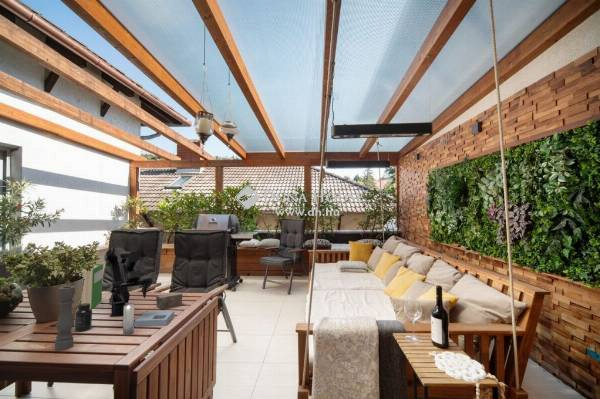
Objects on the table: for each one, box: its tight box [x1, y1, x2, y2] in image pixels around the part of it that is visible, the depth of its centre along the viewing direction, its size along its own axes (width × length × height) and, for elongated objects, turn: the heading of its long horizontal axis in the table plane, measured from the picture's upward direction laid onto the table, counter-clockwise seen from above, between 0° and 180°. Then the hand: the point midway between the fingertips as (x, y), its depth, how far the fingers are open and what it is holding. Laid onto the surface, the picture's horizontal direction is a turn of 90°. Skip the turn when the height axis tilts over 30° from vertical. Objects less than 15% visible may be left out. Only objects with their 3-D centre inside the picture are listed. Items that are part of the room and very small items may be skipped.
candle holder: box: [54, 285, 76, 352], centre depth 126 cm, size 6×6×25 cm
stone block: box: [155, 292, 183, 311], centre depth 182 cm, size 14×9×8 cm, turn 122°
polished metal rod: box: [122, 303, 135, 336], centre depth 141 cm, size 4×4×13 cm
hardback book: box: [79, 263, 104, 310], centre depth 185 cm, size 18×7×24 cm, turn 20°
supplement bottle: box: [73, 303, 93, 333], centre depth 146 cm, size 7×7×12 cm
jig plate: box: [134, 310, 175, 328], centre depth 158 cm, size 15×15×3 cm
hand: (135, 299), depth 150 cm, fingers open, 9 cm apart
